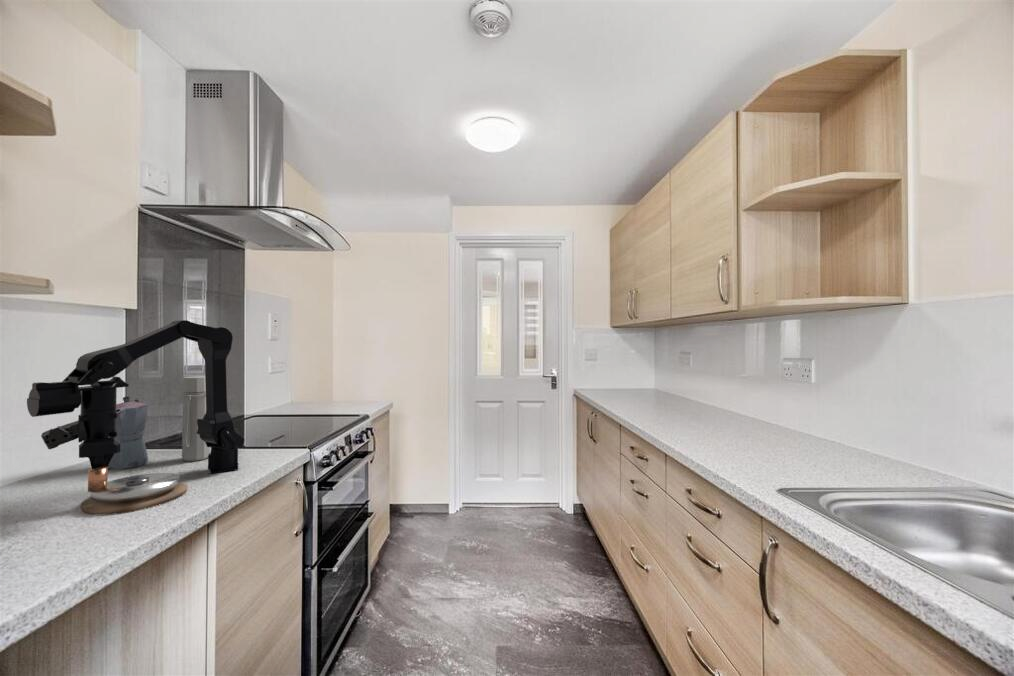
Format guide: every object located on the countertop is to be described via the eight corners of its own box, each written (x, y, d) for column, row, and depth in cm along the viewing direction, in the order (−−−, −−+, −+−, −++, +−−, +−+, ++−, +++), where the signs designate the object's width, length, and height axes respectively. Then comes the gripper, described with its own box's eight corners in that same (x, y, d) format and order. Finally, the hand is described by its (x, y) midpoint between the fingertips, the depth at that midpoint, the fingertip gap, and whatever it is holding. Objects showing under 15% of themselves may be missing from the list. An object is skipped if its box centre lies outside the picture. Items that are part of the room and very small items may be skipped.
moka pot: (94, 474, 112) (95, 400, 112) (115, 460, 126) (116, 393, 126) (140, 470, 116) (141, 398, 117) (155, 456, 130) (156, 392, 130)
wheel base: (190, 480, 108) (190, 475, 108) (181, 503, 93) (182, 497, 93) (94, 493, 98) (95, 488, 98) (67, 521, 83) (67, 515, 83)
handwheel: (177, 477, 106) (177, 451, 106) (181, 494, 95) (181, 464, 95) (91, 491, 96) (91, 462, 96) (83, 512, 84) (84, 478, 85)
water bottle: (190, 456, 131) (191, 376, 131) (217, 455, 132) (218, 376, 132) (170, 464, 122) (171, 378, 122) (199, 463, 123) (200, 378, 123)
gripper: (47, 406, 94) (46, 475, 94) (42, 421, 81) (41, 501, 81) (115, 401, 102) (114, 465, 102) (120, 413, 89) (120, 486, 89)
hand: (98, 478), depth 93 cm, fingers closed
